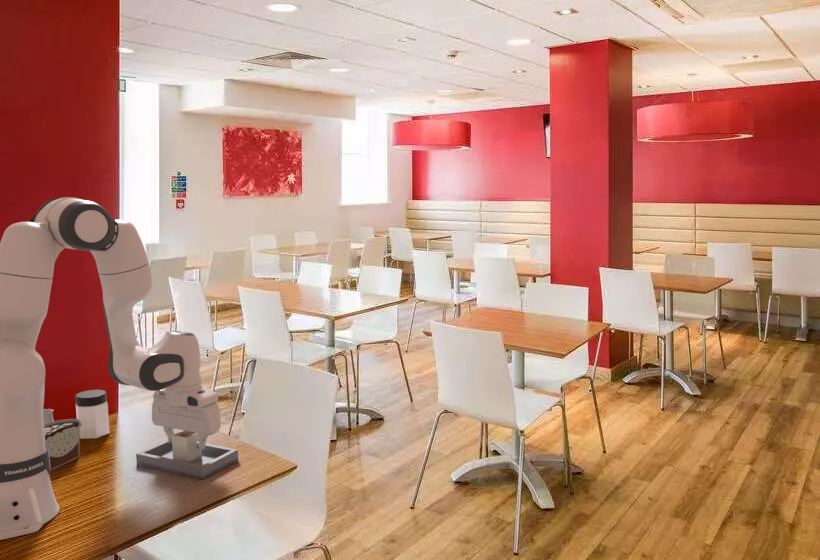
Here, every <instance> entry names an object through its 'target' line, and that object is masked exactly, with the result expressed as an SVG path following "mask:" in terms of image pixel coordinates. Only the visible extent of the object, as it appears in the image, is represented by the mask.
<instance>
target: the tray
mask: <svg viewBox="0 0 820 560" xmlns="http://www.w3.org/2000/svg"><path fill="white" fill-rule="evenodd" d="M135 457H136V466H141V467H144V468H149V469H153V470H158V471H162V472H166V473H171V474H176V475H179V476H184V477H188V478H193V479H196V480H201V481H204V480H206V479H208V478H209V477H211V476H213V475H215V474H217V473H219V472H220V471H222V470H224V469H226V468H228V467H229V466H231V465H233V464H235V463H237V462H238V461H239V449H238V448H232V447H227V446H222V445H215V444H211V443H206V442H205V448H204V449H202V458H201V459H199V460H197V461H195V462H193V463H188V462H183V461H179V460H174V459H173V451H172V444H171V443H168V439H166V440H164V441H161V442H159V443H157V444H155V445H153V446H150V447H148V448H146V449H143V450H142V451H140V452H136V454H135Z"/></svg>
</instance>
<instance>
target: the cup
mask: <svg viewBox="0 0 820 560" xmlns="http://www.w3.org/2000/svg"><path fill="white" fill-rule="evenodd" d="M200 438H201V437H199V434H198V433H194V432H189V431H184V430H179V431H178V432H176V433H174V435H172V451H173V459H174V460H179V461H183V462H188V463H193V462H195V461H197V460H199V459H201V458H202V450H200V449H197V448H196V442H199V440H200Z"/></svg>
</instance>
